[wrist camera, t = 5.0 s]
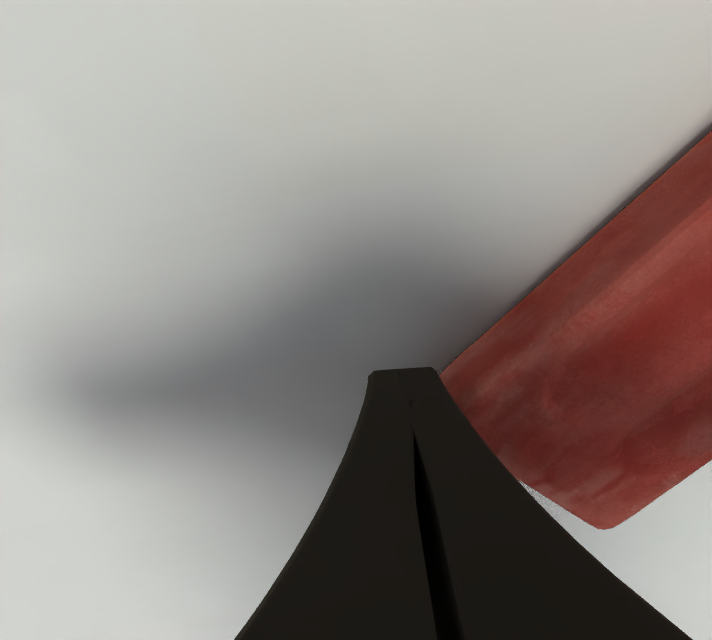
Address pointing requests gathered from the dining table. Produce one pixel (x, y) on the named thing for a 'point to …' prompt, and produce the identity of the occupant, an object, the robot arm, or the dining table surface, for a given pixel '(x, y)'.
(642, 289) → the popsicle
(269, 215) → the dining table surface
